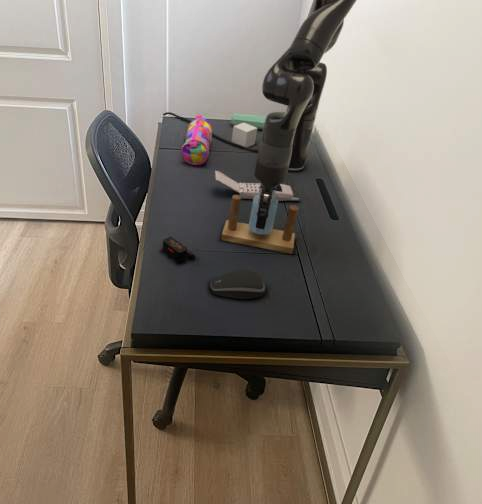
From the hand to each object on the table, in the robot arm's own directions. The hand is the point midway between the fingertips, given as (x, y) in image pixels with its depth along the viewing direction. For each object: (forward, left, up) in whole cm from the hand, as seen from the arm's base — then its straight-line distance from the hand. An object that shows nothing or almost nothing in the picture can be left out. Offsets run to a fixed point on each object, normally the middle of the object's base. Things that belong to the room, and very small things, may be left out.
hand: (261, 219), depth 122 cm
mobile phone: (-19, +13, -6) cm, 24 cm away
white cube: (-51, +31, -6) cm, 60 cm away
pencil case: (-50, +11, -6) cm, 51 cm away
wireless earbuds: (-2, -22, -6) cm, 23 cm away
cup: (0, 0, -3) cm, 3 cm away
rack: (0, 0, -6) cm, 6 cm away
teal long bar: (-59, +46, -6) cm, 75 cm away
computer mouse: (+14, -16, -6) cm, 22 cm away
